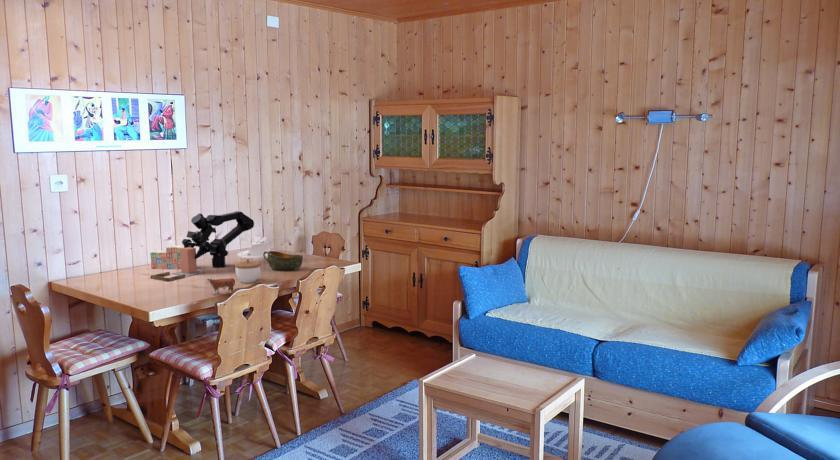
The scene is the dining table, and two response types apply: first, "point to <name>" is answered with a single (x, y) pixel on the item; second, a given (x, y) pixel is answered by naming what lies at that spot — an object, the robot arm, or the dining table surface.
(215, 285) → the bull figurine
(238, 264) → the lidded bowl
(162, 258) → the stack of blocks
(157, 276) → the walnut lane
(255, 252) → the dish
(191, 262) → the salmon-pink block
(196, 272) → the slate-grey mat
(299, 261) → the cup
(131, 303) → the dining table surface
